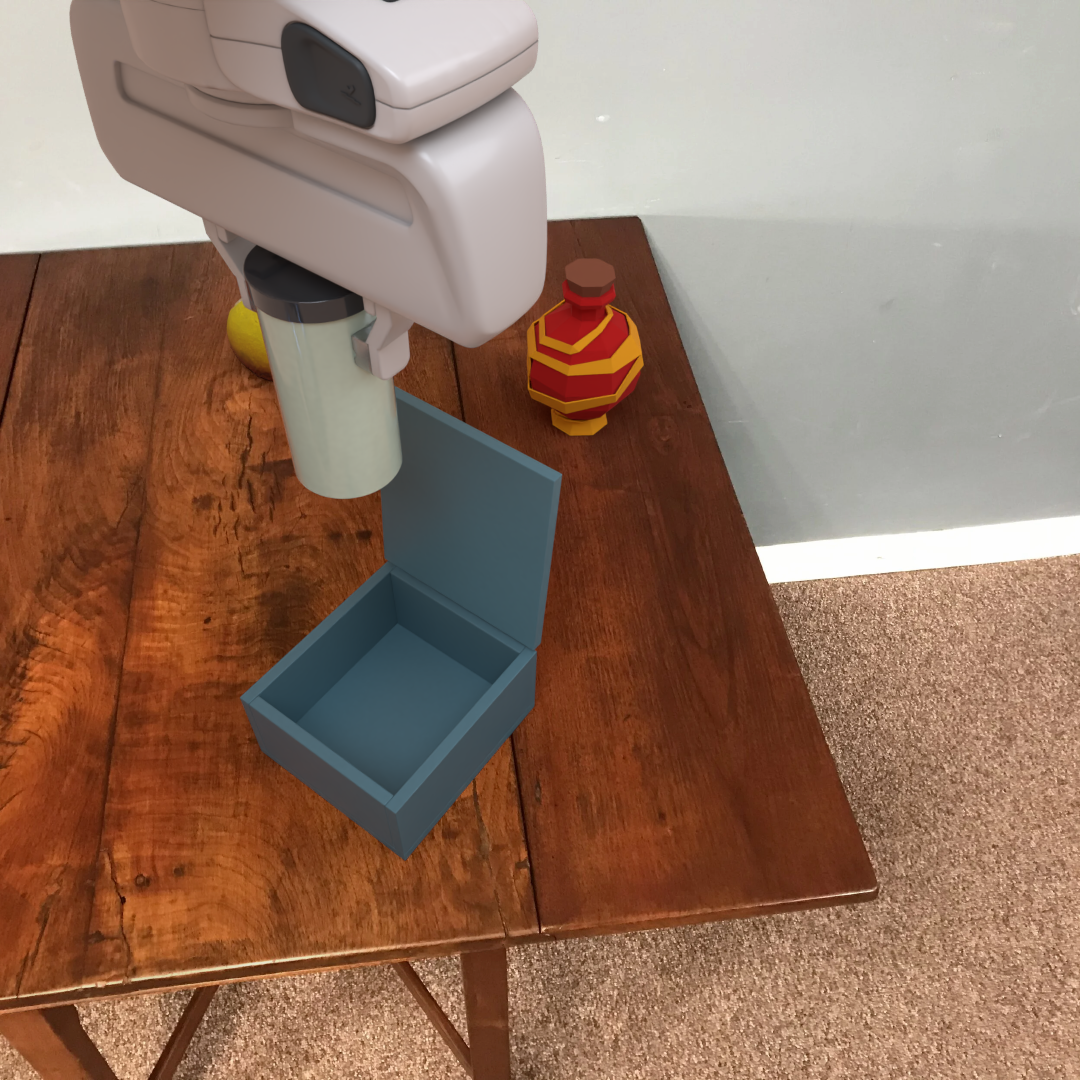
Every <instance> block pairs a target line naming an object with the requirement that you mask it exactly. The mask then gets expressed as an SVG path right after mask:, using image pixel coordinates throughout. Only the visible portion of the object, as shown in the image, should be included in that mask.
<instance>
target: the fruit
mask: <svg viewBox="0 0 1080 1080" xmlns="http://www.w3.org/2000/svg"><path fill="white" fill-rule="evenodd" d="M226 337H227V340H228V344H229V346H230V349H231V350H232V352H233V353H234V355H235V356H236V358H237V359H238V360H239V361H240V362H241V363H242V365H244V366H245V367H246V368H247V369H248V370H250V371H252V374H254V375H255V376H256V377H258V378H262V379H263V380H267V381H269V382H273V378H272V374H271V370H270V365H269V361H268V357H267V353H266V349H265V344H264V340H263V336H262V332H261V328H260V323H259V319H258V315H257V313H256V312H253V311H251V310H249V309H247V308H246V307H245V306H244V305H243V302H242V298H239V300H237V301H236V302H235V303H234V305H233V307H232V308H231V309H230V310H229V312H228V315H227V320H226Z"/></svg>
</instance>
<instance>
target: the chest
mask: <svg viewBox="0 0 1080 1080" xmlns="http://www.w3.org/2000/svg"><path fill="white" fill-rule="evenodd" d="M537 659H538V651H537V650H536V649H535V650H532V649H530V648H529V647H527V646H526V645H524V644H522V643H521V642H519V641H517V640H516V639H514V638H513V637H511V636H509V635H508V634H506V633H504V632H503V631H501V630H500V629H498V628H496V627H495V626H493V625H492V624H490V623H488V622H487V621H485V620H483V619H482V618H480V617H479V616H477V615H475V614H474V613H472V612H471V611H469V610H467V609H466V608H464V607H462V606H461V605H459V604H458V603H456V602H454V601H453V600H451V599H449V598H448V597H446V596H445V595H443V594H441V593H440V592H438V591H437V590H435V589H433V588H432V587H430V586H428V585H427V584H425V583H424V582H422V581H420V580H419V579H417V578H415V577H414V576H412V575H411V574H409V573H407V572H406V571H404V570H403V569H401V568H399V567H398V566H396V565H394V564H393V563H391V562H390V561H388V560H387V561H386V562H385V563H384V564H383V565H382V566H381V567H379V569H377V570H376V571H375V572H373V574H371V576H370V577H369V578H368V579H366V580H365V581H364V582H363V583H362V584H361V585H360V586H359V587H357V589H356V590H355V591H353V592H352V593H351V594H350V595H349V596H348V597H347V598H346V599H344V601H343V602H342V603H340V604H339V605H338V606H337V607H336V608H335V609H334V610H333V611H331V613H329V614H328V615H327V616H326V617H325V618H324V619H323V620H322V621H320V623H318V624H317V626H315V627H314V628H313V629H312V630H311V631H310V632H309V633H308V634H307V635H305V636H304V637H303V638H302V639H301V640H300V641H299V642H298V643H297V644H296V645H294V647H292V649H291V650H289V651H288V652H287V653H286V654H285V655H284V656H283V657H282V658H280V659H279V661H277V662H276V663H275V664H274V665H273V666H272V667H271V668H270V669H269V670H268V671H267V672H265V673H264V674H263V675H262V676H261V677H260V678H259V679H258V680H257V681H256V682H254V683H253V684H252V685H251V686H250V687H249V688H248V689H247V690H246V691H245V692H244V693H243V694H241V695H240V697H239V699H240V703H241V704H242V707H243V709H244V711H245V714H246V716H247V719H248V722H249V724H250V726H251V729H252V730H253V734H254V736H255V739H256V741H257V743H258V746H259V748H260V751H261V752H262V753H263V754H265V755H266V756H267V757H268V758H270V759H271V760H273V761H274V762H275V763H277V765H279V766H281V767H282V769H284V770H285V771H287V772H288V773H290V774H291V775H292V776H294V777H295V778H296V779H297V780H298V781H300V782H301V783H303V784H304V785H305V786H307V787H308V788H309V789H311V790H312V791H313V792H314V793H316V794H317V795H318V796H320V797H321V798H322V799H324V800H325V801H326V802H327V803H329V804H330V805H331V806H333V807H334V808H335V809H337V811H339V812H341V813H342V814H343V815H345V816H346V817H347V818H349V820H351V821H353V823H355V824H356V825H358V826H359V827H360V828H362V829H363V830H364V831H365V832H366V833H368V834H369V835H371V836H372V837H373V838H375V839H376V840H377V841H378V842H379V843H381V844H382V845H383V846H385V847H386V848H387V849H389V850H390V851H392V852H393V854H395V855H397V856H399V858H400V859H402V860H403V861H407V860H408V859H409V857H410V856H411V855H412V854H413V853H414V851H415V850H416V849H417V848H418V846H419V845H420V844H421V843H422V842H423V840H424V839H425V838H426V837H427V836H428V834H429V833H430V832H431V831H432V830H433V829H434V827H435V826H436V825H437V824H438V822H439V821H440V820H441V819H442V817H443V816H444V815H445V814H446V813H447V812H448V810H449V809H450V808H451V807H452V806H453V804H454V803H455V802H456V801H457V800H458V798H459V797H460V796H461V795H462V794H463V792H464V791H465V790H466V789H467V788H468V786H469V785H470V784H471V783H472V782H473V781H474V779H475V778H476V777H477V776H478V775H479V773H480V772H481V771H482V770H483V769H484V767H485V766H486V765H487V764H488V762H489V761H490V760H491V759H492V758H493V757H494V755H495V754H496V753H497V752H498V751H499V750H500V748H501V747H502V746H503V745H504V744H505V742H506V741H507V740H508V739H509V738H510V736H511V735H512V734H513V733H514V731H515V730H516V729H517V728H518V726H519V725H520V724H521V723H522V722H523V721H524V719H525V718H526V717H527V716H528V715H529V714H530V712H531V711H532V710H533V709H534V707H535V705H536V704H535V703H536V701H535V700H536V683H537V680H536V679H537Z"/></svg>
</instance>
